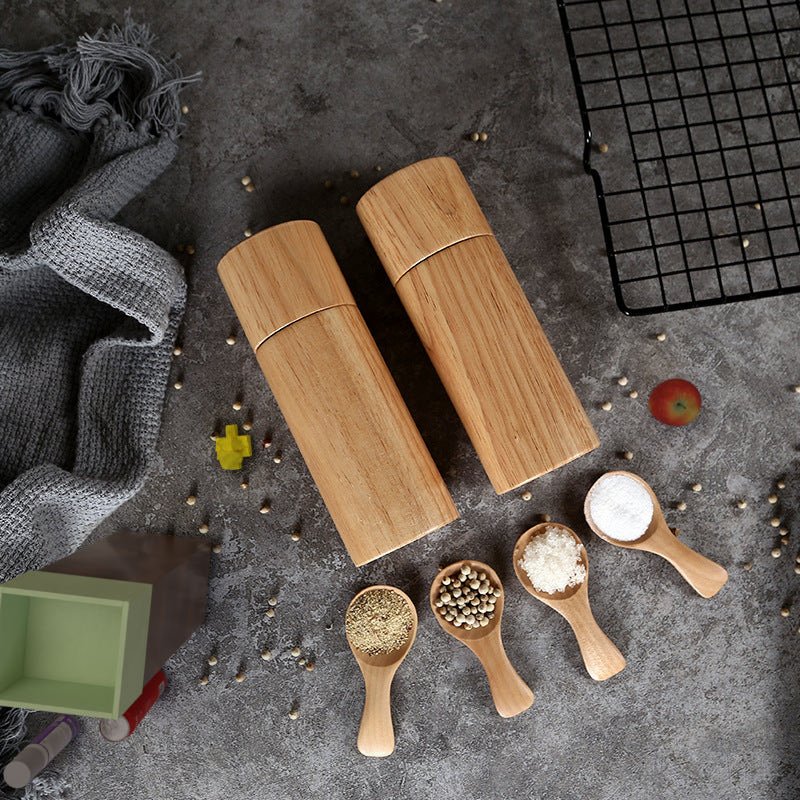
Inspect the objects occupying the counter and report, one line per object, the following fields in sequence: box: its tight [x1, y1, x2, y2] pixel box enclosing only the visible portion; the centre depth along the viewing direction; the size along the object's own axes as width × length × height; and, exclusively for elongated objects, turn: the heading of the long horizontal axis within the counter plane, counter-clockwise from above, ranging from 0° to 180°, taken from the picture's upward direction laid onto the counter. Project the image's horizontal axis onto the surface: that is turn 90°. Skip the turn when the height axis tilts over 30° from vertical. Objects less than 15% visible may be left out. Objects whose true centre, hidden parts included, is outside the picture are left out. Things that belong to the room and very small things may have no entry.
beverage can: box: [98, 669, 168, 744], centre depth 110 cm, size 6×6×15 cm
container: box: [3, 713, 81, 789], centre depth 111 cm, size 5×5×15 cm
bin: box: [0, 569, 152, 720], centre depth 87 cm, size 18×16×7 cm
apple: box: [647, 377, 703, 427], centre depth 109 cm, size 8×8×10 cm
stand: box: [36, 529, 213, 687], centre depth 104 cm, size 17×15×27 cm
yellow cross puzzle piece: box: [214, 423, 253, 471], centre depth 112 cm, size 6×8×8 cm
